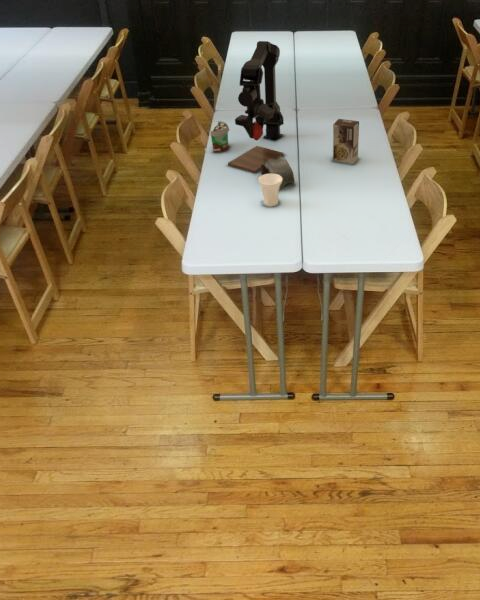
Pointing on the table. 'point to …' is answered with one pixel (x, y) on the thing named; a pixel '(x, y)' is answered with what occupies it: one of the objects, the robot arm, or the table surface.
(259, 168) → the cutting board
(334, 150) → the coffee box
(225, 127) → the food container
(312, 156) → the table surface
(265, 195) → the cup
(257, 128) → the red fruit
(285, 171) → the rock
